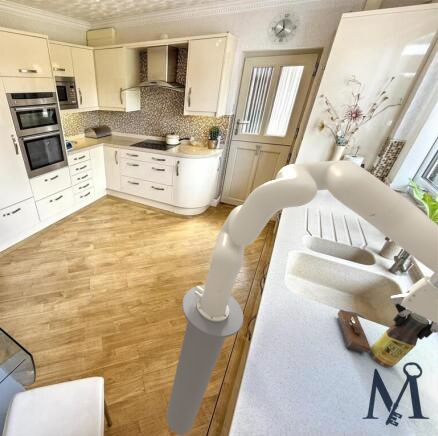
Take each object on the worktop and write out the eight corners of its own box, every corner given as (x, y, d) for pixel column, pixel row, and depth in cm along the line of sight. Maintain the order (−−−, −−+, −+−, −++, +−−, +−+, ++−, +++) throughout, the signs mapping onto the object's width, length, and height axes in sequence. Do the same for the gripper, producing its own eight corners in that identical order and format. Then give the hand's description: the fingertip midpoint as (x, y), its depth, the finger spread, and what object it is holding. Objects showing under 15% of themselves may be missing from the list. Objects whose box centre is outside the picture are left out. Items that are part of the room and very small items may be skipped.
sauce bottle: (373, 364, 73) (410, 323, 64) (364, 346, 78) (397, 305, 69) (399, 372, 71) (440, 330, 62) (388, 353, 77) (424, 312, 67)
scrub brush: (334, 317, 88) (342, 306, 85) (350, 322, 87) (359, 311, 83) (345, 350, 77) (355, 339, 74) (363, 356, 75) (374, 345, 72)
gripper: (504, 298, 56) (449, 343, 65) (408, 261, 66) (373, 304, 75) (510, 315, 51) (450, 361, 60) (406, 272, 62) (368, 317, 71)
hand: (407, 329), depth 68 cm, fingers closed on sauce bottle, 4 cm apart
